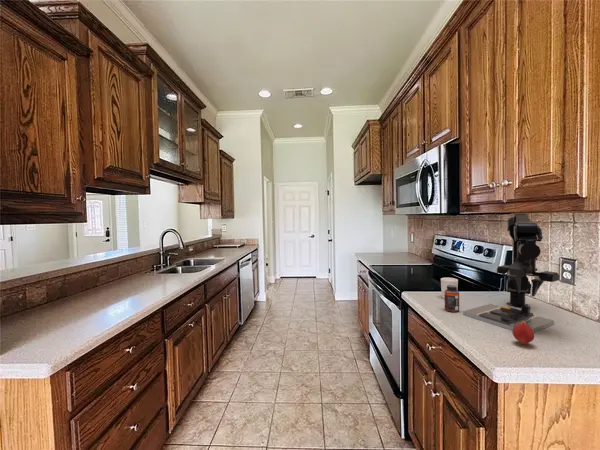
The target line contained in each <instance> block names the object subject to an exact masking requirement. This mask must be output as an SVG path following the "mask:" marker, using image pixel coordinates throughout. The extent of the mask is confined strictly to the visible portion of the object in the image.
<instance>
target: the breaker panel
mask: <svg viewBox="0 0 600 450" xmlns="http://www.w3.org/2000/svg"><path fill="white" fill-rule="evenodd" d="M462 315H463V316H466V317H468V318H471V319H475V320H478V321H482V322H484V323H488V324H491V325H494V326H498V327H500V328H504V329H507V330H509V331H512V332H513V328H514V327H515V326H516V325H517V324H519V323H522V322H523V321H524V322H525V323H526V325H528V326H529V327H530V328H531V329H532V330H533V332H534V333H536V332H538V331H540V330H543V329H545V328H548V327H550V326H553V325H555V320H553V319H550V318H547V317H544V316H538V315H535V314H534V313H533V312H531V306H524V305H523V306H521V308H520V309H517V308H514V307H511V314H509V313H506V312H502V306H500V305H497V304H493V303H488V304H483V305H481V306H477V307H474V308H471V309H466V310H463V312H462Z"/></svg>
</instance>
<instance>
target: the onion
mask: <svg viewBox="0 0 600 450" xmlns="http://www.w3.org/2000/svg"><path fill="white" fill-rule="evenodd" d="M512 335H513V337H514V339H516V341H517V342H519V343H520V344H521V345H523V346H525V345H528V344H530V343H531V342H533V341H534V339H535V332H533V330H532V329H531V328H530V327H529V326H528V325H526V323H525V322H524V321H523V322H522V323H519V324H517V325H516V326H515V327H514V328H513V331H512Z"/></svg>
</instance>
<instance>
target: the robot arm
mask: <svg viewBox="0 0 600 450" xmlns="http://www.w3.org/2000/svg"><path fill="white" fill-rule="evenodd" d="M506 229H507V232H508V235H509V236H510V238H511V239H512V263H511V264H510V265H506V264H505V265H499V266H497V268H496V273H497V274H499V275H500V274H501V275H505V276H506V277H507V278H508V279H506V284H505V285H506V286H505V288H506V292H507V293H509V301H508V302H506V305H509V306H512V307H513V306H514V307H516V308H520V309H521V306H523V305H524V306H528V307H530V304H528V303H526V295H530V294H531V296H532V297H535V296H536V295H537V292H538V291H539V289H540V287H541V286H542V285H543V283H544V282H549V283H553V282H558V281H560V274H559V273H558V272H557V271H549V270H545V271H538V268H537V267H536V266H537V265H536V262H537V261H538V258H539V257H540V254H541V253H542V251H541V248H540V246H538V245H537V242H539V243H540V242H542V240H543V237H544V236H543V232H542V228H541V227H540V225H538V223H537V222H534V221H532V220H531V219H530V218H529V214H527V213H514V214H513V215H512V217H511V218H509V219H508V220H507V223H506ZM529 277H534V278H532V279H530V280H529ZM530 281H531V282H530ZM531 283H532V284H531Z"/></svg>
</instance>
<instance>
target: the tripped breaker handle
mask: <svg viewBox="0 0 600 450" xmlns="http://www.w3.org/2000/svg"><path fill="white" fill-rule="evenodd" d="M501 307H502V312H506V313H509V314H511V308H512V307H511V306H510V307H509V306H506V305H504V306H501Z"/></svg>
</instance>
